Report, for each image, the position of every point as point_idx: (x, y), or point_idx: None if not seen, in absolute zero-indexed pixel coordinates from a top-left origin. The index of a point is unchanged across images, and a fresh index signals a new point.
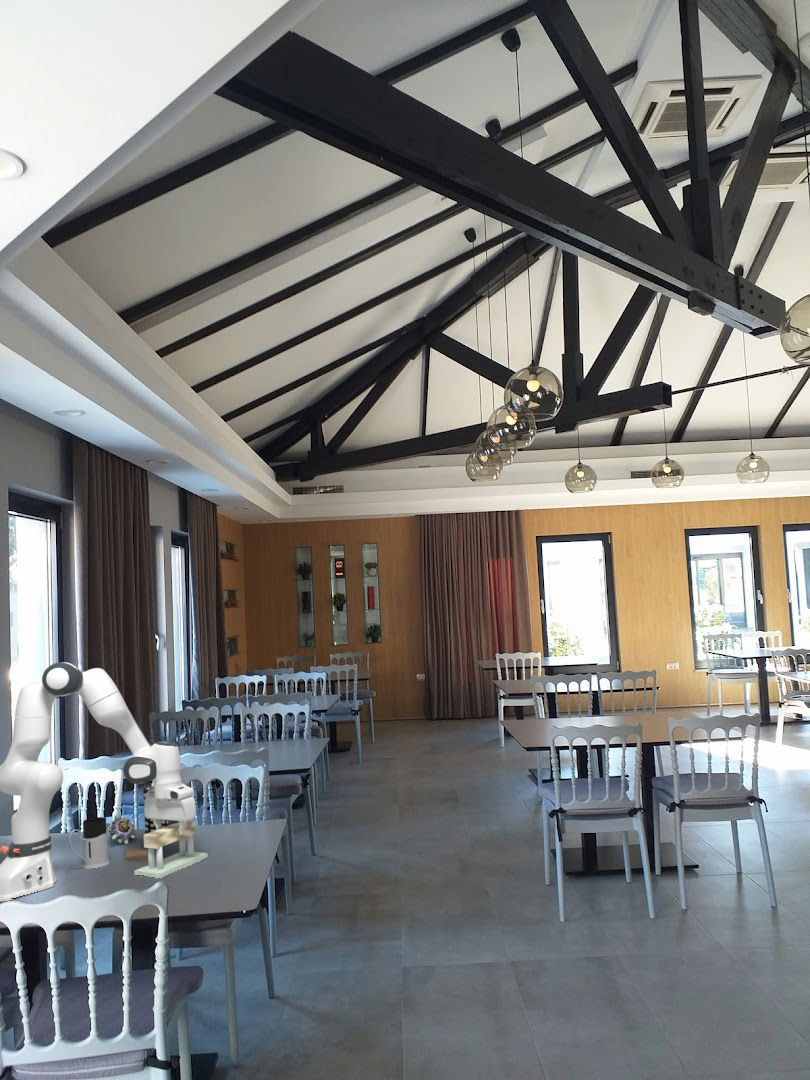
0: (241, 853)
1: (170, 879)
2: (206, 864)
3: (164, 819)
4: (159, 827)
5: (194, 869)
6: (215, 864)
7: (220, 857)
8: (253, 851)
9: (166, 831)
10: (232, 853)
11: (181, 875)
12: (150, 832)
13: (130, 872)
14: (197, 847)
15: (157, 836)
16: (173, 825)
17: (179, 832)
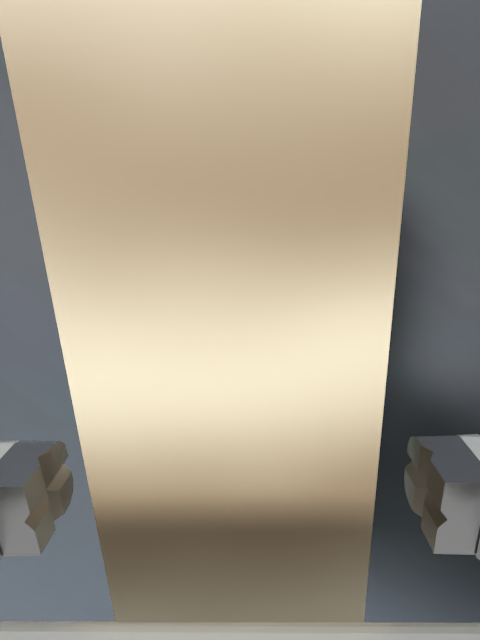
0: (38, 586)
1: (5, 87)
2: (56, 410)
3: (267, 625)
4: (448, 490)
5: (41, 317)
6: (3, 424)
7: (89, 518)
8: (8, 619)
9: (88, 341)
10: (85, 576)
11: (11, 191)
12: (390, 185)
13: (470, 105)
14: (367, 602)
15: (16, 42)
16: (287, 614)
17: (2, 455)
